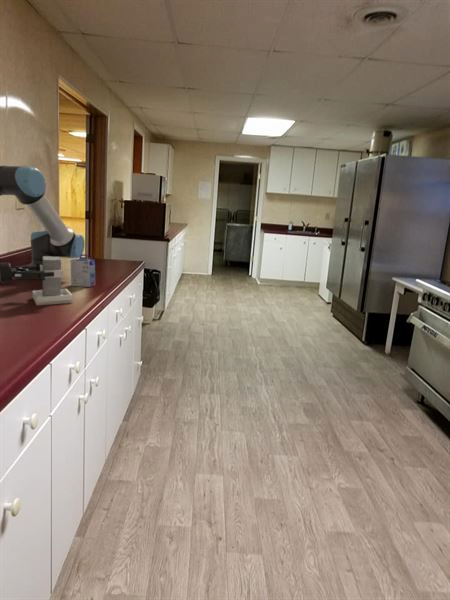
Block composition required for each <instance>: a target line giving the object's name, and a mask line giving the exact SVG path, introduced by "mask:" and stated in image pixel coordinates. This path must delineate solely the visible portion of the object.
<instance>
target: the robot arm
mask: <svg viewBox="0 0 450 600" xmlns="http://www.w3.org/2000/svg"><path fill="white" fill-rule="evenodd" d="M46 187H47V183H46V179H45V176H44V175H43V173H42V172H41V171H40V170H39V169H38V168H36V167H33V166H28V165H27V166H26V165H22V166H21V165H20V166H19V165H17V166H16V165H0V196H14V197H16V199H17V200H18V202H19V203H20V204H22V205H24V206H27V207H28V208H29V210H30V211H31V212H32V214H33V215H34V216H35V218H36V220H37V221H38V222H39V223H40V225H41V226H42V227H43V229H44V230H42V231H33V232H31V233H30V249H31V263H30V264H27V265H19V266H11V263H10V262H0V283H1V284H6V283H7V284H8V283H12V281H13V279H12V277H13V278H14V279H16V280H17V279H27V280H28V279H29V280H41V281H43V280H45V278H57V277H61V278H64V269H61V270H45V271H43V256H50V257H60V258H66V259H67V258H68V259H79V258H80V255H81V254H84V250H85V238H84V236H83V235H82V234H79V233H78V234H76V233H75V232H74V231H73V229H72V228H71V227H70V226H67V225H66V224H65V223H64V221H63V220H62V218H61V217H60V216H59V214H58V212H57V211H56V210H55V208H54V206H53V204H52V203H51V202H50V201H49V199H48V198H47V196H46V189H47V188H46Z"/></svg>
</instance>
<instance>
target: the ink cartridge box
mask: <svg viewBox="0 0 450 600" xmlns="http://www.w3.org/2000/svg"><path fill="white" fill-rule="evenodd" d="M88 256H89V254H84V253H83V254H81V255H80V257H79V258H72V259H70V261H69V262H70V286H71V287H72V286H74V287H83V288H85V287H87V288H92V287H96V261H95V259H88Z"/></svg>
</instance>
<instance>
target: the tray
mask: <svg viewBox="0 0 450 600" xmlns="http://www.w3.org/2000/svg"><path fill="white" fill-rule="evenodd" d="M42 290H43V289H39V290H37V289H36V290H32V299H33V301H34V302H35V306H43V305H44V306H45V305H47V306H48V305H57V304H59V305H60V304H73V303H74V295H73V293H71V291H70V290H69V289H68V288H61V296H45V297H43V295H42Z"/></svg>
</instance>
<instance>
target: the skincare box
mask: <svg viewBox="0 0 450 600" xmlns="http://www.w3.org/2000/svg"><path fill="white" fill-rule="evenodd" d="M61 258H62V257H50V256H43V271H45V270H62V260H61ZM61 289H62V277H57V278H45V280H42V289H41V290H42V295H43V297H45V296H61Z"/></svg>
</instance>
